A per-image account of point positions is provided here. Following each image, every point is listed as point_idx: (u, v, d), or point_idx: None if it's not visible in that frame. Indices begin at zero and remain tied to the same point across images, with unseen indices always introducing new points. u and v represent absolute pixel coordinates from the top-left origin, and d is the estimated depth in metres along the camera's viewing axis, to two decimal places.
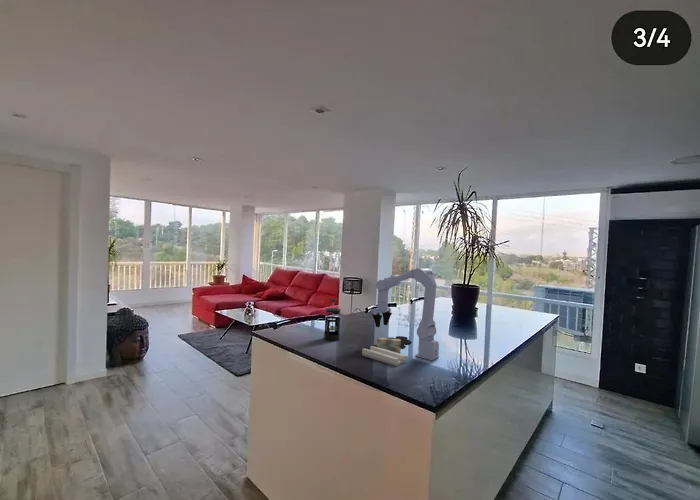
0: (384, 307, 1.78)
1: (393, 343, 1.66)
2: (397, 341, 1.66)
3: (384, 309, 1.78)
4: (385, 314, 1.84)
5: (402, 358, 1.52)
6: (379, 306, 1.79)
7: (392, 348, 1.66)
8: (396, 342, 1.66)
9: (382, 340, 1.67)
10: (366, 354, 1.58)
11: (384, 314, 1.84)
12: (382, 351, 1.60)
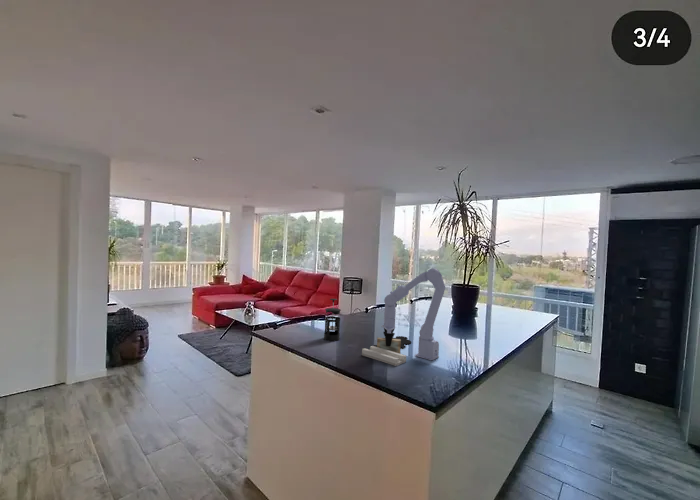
0: (394, 324, 1.66)
1: (393, 343, 1.66)
2: (397, 341, 1.66)
3: (394, 326, 1.66)
4: None
5: (402, 358, 1.52)
6: (389, 323, 1.65)
7: (392, 348, 1.66)
8: (396, 342, 1.66)
9: (382, 340, 1.67)
10: (366, 354, 1.58)
11: (387, 330, 1.72)
12: (382, 351, 1.60)
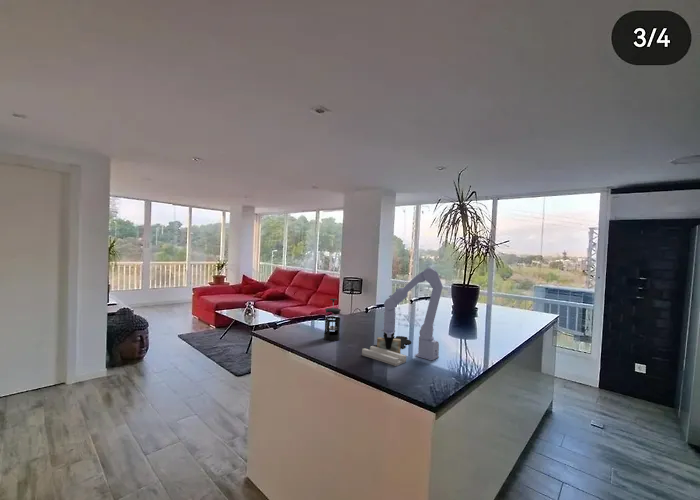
0: (394, 327, 1.66)
1: (393, 342, 1.66)
2: (397, 341, 1.66)
3: (394, 330, 1.66)
4: None
5: (402, 358, 1.52)
6: (389, 327, 1.65)
7: (392, 348, 1.66)
8: (396, 341, 1.66)
9: (382, 340, 1.67)
10: (366, 354, 1.58)
11: (387, 335, 1.70)
12: (382, 351, 1.60)
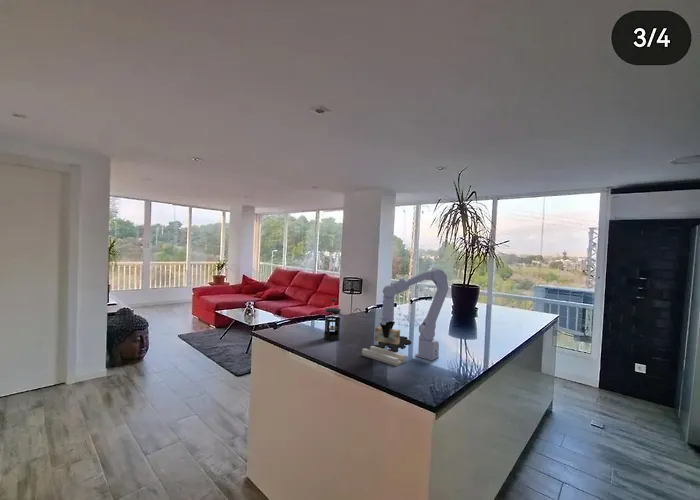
0: (391, 316, 1.61)
1: (391, 333, 1.61)
2: (395, 331, 1.60)
3: (391, 318, 1.61)
4: None
5: (402, 358, 1.52)
6: (386, 315, 1.60)
7: (390, 338, 1.61)
8: (394, 332, 1.60)
9: (380, 329, 1.63)
10: (366, 354, 1.58)
11: None
12: (382, 351, 1.60)
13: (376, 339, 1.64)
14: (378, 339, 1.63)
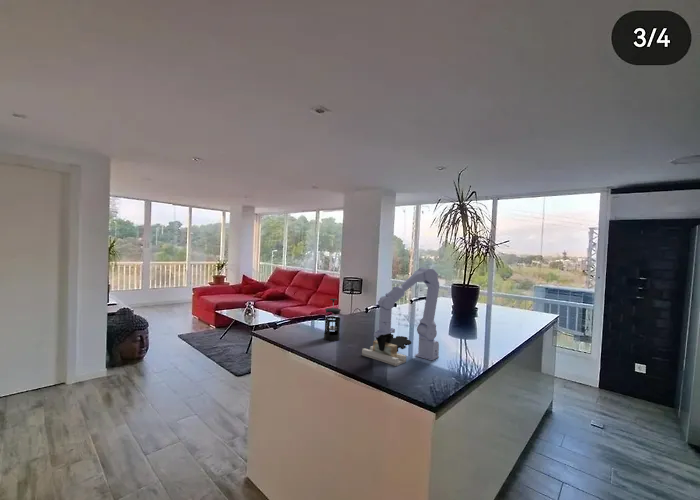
0: (387, 328, 1.54)
1: (387, 348, 1.53)
2: (390, 346, 1.52)
3: (387, 331, 1.54)
4: (386, 336, 1.58)
5: (402, 358, 1.52)
6: (381, 327, 1.54)
7: (385, 353, 1.54)
8: (389, 347, 1.52)
9: (377, 343, 1.57)
10: (366, 354, 1.58)
11: (385, 336, 1.58)
12: None
13: None
14: None
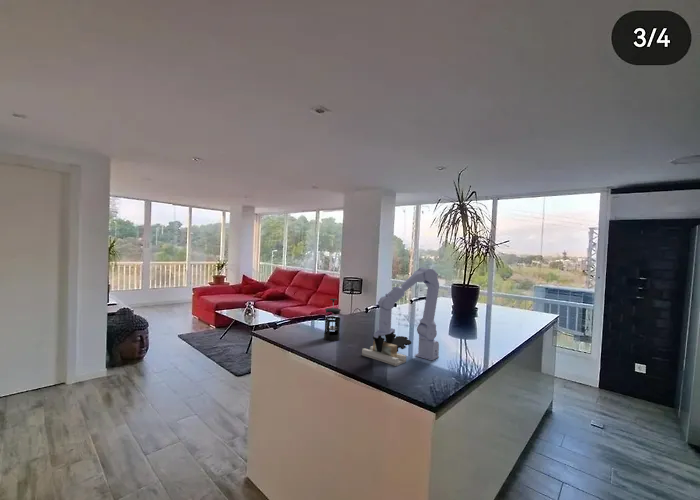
0: (387, 329, 1.54)
1: (387, 348, 1.53)
2: (390, 346, 1.52)
3: (387, 331, 1.54)
4: (388, 336, 1.59)
5: (402, 358, 1.52)
6: (381, 327, 1.54)
7: (385, 353, 1.54)
8: (389, 347, 1.52)
9: None
10: (366, 354, 1.58)
11: (387, 336, 1.60)
12: None
13: None
14: None
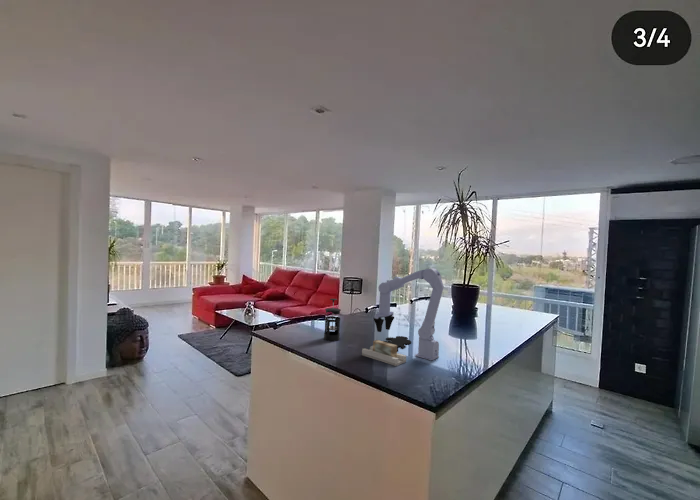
0: (386, 311, 1.70)
1: (387, 348, 1.53)
2: (390, 346, 1.52)
3: (386, 313, 1.70)
4: (387, 318, 1.76)
5: (402, 358, 1.52)
6: (381, 310, 1.71)
7: (385, 353, 1.54)
8: (389, 347, 1.52)
9: (377, 343, 1.57)
10: (366, 354, 1.58)
11: (386, 318, 1.76)
12: None
13: None
14: None
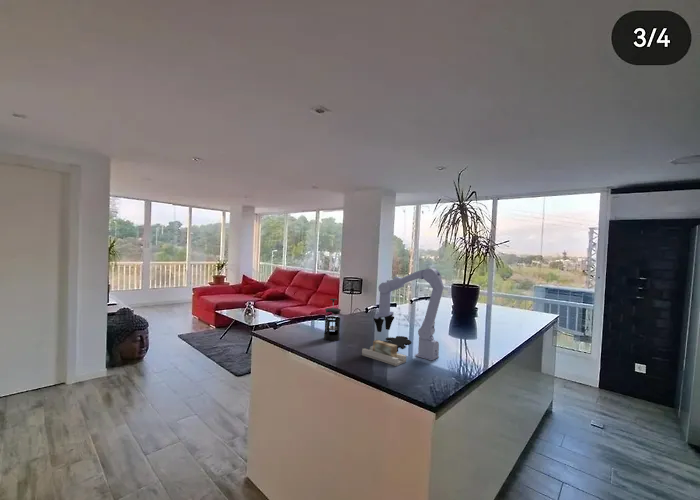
0: (386, 311, 1.70)
1: (387, 348, 1.53)
2: (390, 346, 1.52)
3: (386, 313, 1.70)
4: (387, 318, 1.76)
5: (402, 358, 1.52)
6: (381, 310, 1.71)
7: (385, 353, 1.54)
8: (389, 347, 1.52)
9: (377, 343, 1.57)
10: (366, 354, 1.58)
11: (386, 318, 1.76)
12: None
13: None
14: None
